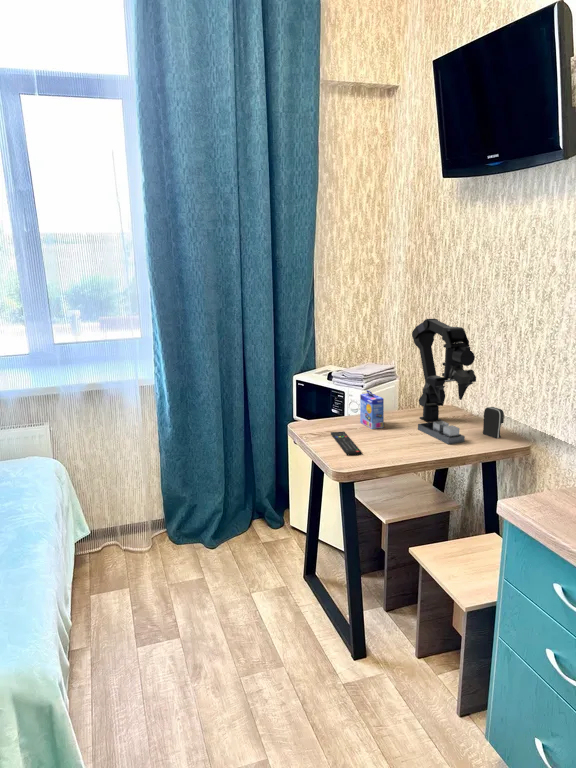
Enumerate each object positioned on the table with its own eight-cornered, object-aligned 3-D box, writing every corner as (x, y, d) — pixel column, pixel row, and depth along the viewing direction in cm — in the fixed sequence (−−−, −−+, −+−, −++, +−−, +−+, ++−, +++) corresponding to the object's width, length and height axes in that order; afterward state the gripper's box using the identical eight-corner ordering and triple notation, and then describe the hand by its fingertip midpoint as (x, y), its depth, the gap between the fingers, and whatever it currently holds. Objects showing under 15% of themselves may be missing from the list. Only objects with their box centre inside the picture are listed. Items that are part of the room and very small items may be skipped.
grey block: (432, 434, 216) (433, 421, 215) (441, 433, 217) (442, 420, 216) (439, 437, 212) (439, 424, 211) (448, 436, 214) (448, 423, 213)
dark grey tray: (417, 431, 222) (418, 424, 222) (432, 429, 225) (433, 421, 224) (448, 446, 205) (448, 438, 204) (464, 444, 208) (464, 436, 207)
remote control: (344, 434, 221) (344, 431, 221) (362, 456, 198) (362, 452, 198) (330, 435, 220) (330, 432, 220) (347, 457, 197) (347, 453, 197)
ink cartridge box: (359, 422, 234) (359, 388, 231) (370, 421, 236) (371, 386, 233) (371, 429, 225) (372, 393, 222) (383, 427, 227) (384, 392, 224)
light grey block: (442, 439, 210) (443, 426, 209) (451, 438, 212) (452, 425, 211) (449, 442, 207) (450, 429, 206) (458, 441, 208) (459, 428, 207)
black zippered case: (503, 439, 213) (506, 409, 210) (496, 440, 211) (498, 410, 208) (488, 434, 218) (491, 405, 216) (481, 435, 217) (483, 406, 214)
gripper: (445, 366, 206) (443, 408, 209) (487, 362, 212) (484, 403, 216) (427, 361, 216) (425, 401, 220) (467, 357, 223) (465, 396, 226)
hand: (450, 400), depth 220 cm, fingers open, 9 cm apart
